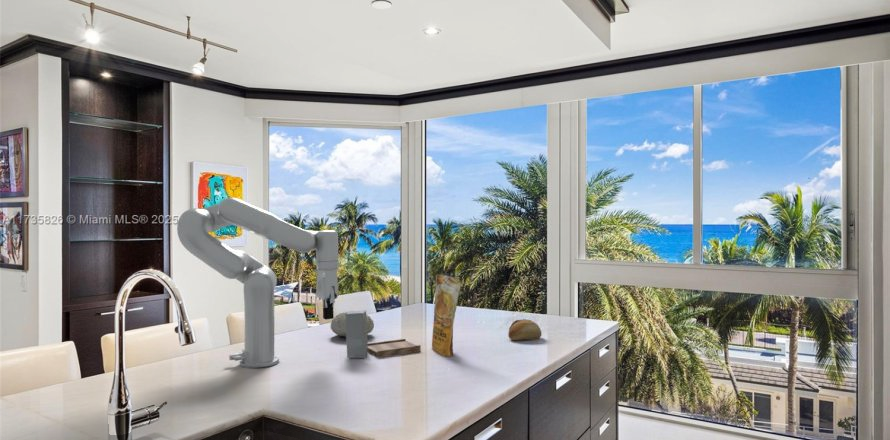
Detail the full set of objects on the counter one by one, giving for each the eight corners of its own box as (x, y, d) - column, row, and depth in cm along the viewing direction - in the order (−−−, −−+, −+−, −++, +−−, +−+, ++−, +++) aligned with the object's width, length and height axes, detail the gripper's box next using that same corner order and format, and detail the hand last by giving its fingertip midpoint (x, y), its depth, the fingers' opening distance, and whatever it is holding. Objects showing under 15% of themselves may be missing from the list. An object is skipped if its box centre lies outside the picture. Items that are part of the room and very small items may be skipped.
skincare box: (364, 358, 183) (365, 313, 183) (344, 358, 183) (344, 313, 183) (368, 352, 191) (368, 309, 191) (348, 352, 191) (349, 309, 191)
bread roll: (502, 338, 215) (502, 319, 215) (532, 335, 222) (532, 316, 222) (515, 343, 206) (515, 323, 206) (546, 340, 213) (546, 320, 213)
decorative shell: (382, 335, 220) (382, 311, 221) (353, 343, 205) (354, 318, 205) (350, 330, 230) (350, 307, 230) (321, 338, 215) (321, 313, 215)
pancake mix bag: (443, 345, 203) (443, 273, 203) (462, 356, 185) (463, 278, 186) (426, 346, 201) (427, 273, 201) (445, 358, 183) (445, 278, 183)
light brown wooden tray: (378, 357, 184) (378, 351, 184) (363, 349, 195) (364, 343, 195) (420, 351, 193) (420, 345, 193) (404, 344, 204) (404, 338, 204)
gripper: (310, 265, 186) (311, 316, 186) (323, 268, 173) (324, 323, 173) (330, 263, 190) (331, 314, 190) (345, 266, 177) (346, 320, 177)
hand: (328, 318), depth 181 cm, fingers closed
